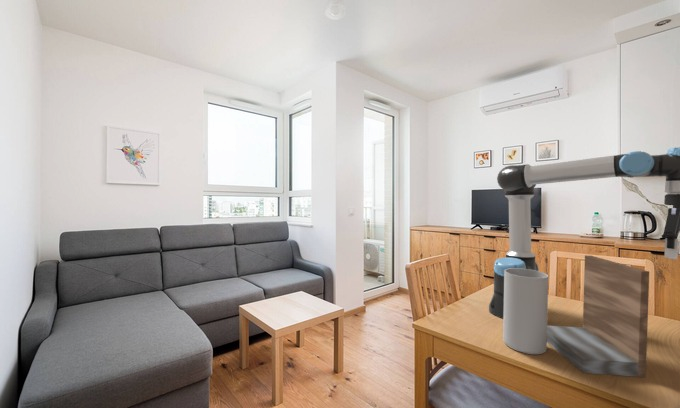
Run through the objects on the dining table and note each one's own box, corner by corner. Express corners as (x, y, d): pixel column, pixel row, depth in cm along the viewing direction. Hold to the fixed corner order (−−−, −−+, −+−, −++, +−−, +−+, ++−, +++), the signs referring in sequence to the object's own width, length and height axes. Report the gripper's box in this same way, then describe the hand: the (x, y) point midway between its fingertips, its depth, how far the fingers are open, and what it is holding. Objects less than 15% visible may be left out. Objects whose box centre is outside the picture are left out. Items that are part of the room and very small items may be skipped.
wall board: (582, 372, 83) (585, 269, 83) (539, 336, 105) (541, 254, 104) (645, 377, 81) (649, 271, 81) (588, 338, 103) (591, 255, 102)
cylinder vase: (555, 352, 94) (557, 276, 94) (526, 358, 91) (528, 279, 90) (521, 334, 106) (523, 267, 106) (494, 339, 103) (495, 269, 102)
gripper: (686, 193, 87) (682, 262, 88) (710, 194, 99) (706, 255, 100) (651, 193, 94) (647, 257, 95) (677, 194, 106) (674, 251, 106)
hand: (677, 256), depth 97 cm, fingers open, 13 cm apart
